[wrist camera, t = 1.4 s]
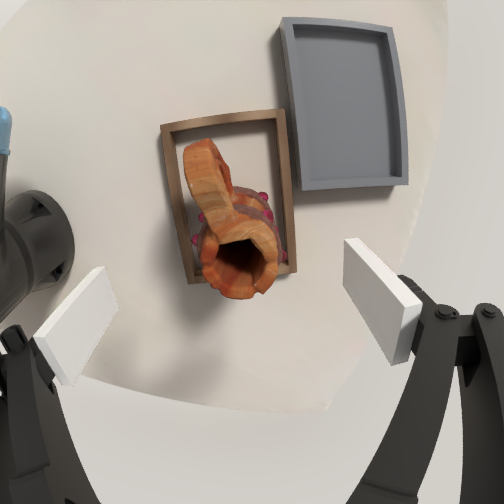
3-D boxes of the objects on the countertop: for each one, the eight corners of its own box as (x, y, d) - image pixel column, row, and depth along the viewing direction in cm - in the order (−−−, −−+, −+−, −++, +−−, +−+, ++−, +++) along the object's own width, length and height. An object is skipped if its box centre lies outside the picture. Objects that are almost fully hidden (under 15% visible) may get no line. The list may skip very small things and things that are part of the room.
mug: (282, 240, 37) (306, 303, 23) (222, 260, 37) (212, 331, 23) (244, 129, 31) (246, 120, 17) (179, 153, 32) (135, 164, 18)
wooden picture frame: (190, 277, 38) (188, 284, 36) (164, 125, 31) (160, 125, 29) (294, 265, 38) (296, 272, 36) (281, 110, 30) (284, 108, 29)
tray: (297, 186, 34) (302, 190, 31) (279, 26, 26) (282, 17, 23) (397, 181, 34) (408, 184, 31) (382, 33, 26) (392, 27, 23)
